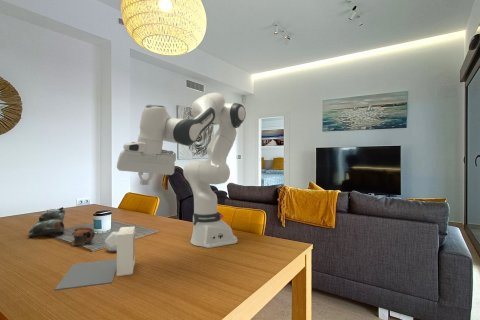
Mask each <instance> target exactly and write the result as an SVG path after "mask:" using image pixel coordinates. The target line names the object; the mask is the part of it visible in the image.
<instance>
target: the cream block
mask: <svg viewBox="0 0 480 320" xmlns="http://www.w3.org/2000/svg"><path fill="white" fill-rule="evenodd" d="M117 232H118V234H117V251H116V259H117V269H116V277H120V276H121V277H122V276H127V275H129V276H130V275H133V273H134V269H135V262H136V261H135V259H136V258H135V257H136V226H124V227H122V226H121V227H120V228H119V229H118V231H117Z"/></svg>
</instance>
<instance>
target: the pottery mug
mask: <svg viewBox="0 0 480 320" xmlns="http://www.w3.org/2000/svg"><path fill="white" fill-rule="evenodd" d="M95 235H96V234H95V232H94V231H93V229H92V228H89V227H78V228H75V229H74V232H72V234H71V236H73V237H74V238H73V239H74V240H72V241H71V243H70V244H71V247H73V246H85V243H86V244H89V243H91V241H92V240H93V239H94V238H95Z"/></svg>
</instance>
